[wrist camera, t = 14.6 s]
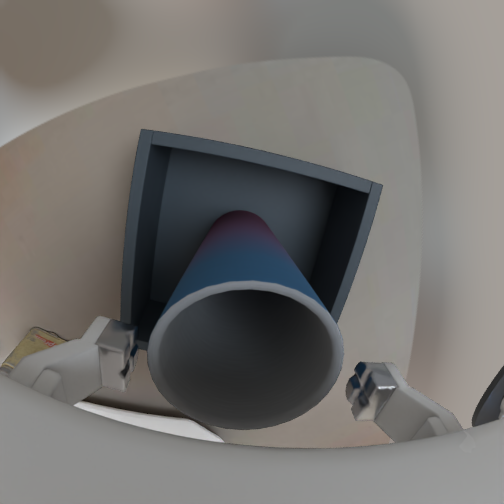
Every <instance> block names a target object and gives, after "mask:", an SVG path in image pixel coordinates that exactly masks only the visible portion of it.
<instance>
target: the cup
mask: <svg viewBox="0 0 504 504" xmlns="http://www.w3.org/2000/svg"><path fill="white" fill-rule="evenodd" d="M343 357H344V348H343V339H342V336H341V333H340V330H339V328H338V325H337V323H336V322H335V320H334V319H333V318H332V316H331V315H330V313H329V312H328V310H327V309H326V307H325V306H324V304H323V303H322V302H321V300H320V299H319V297H318V296H317V294H316V293H315V292H314V290H313V289H312V287H311V286H310V284H309V283H308V282H307V280H306V279H305V277H304V276H303V274H302V273H301V272H300V270H299V269H298V267H297V266H296V264H295V263H294V262H293V260H292V259H291V257H290V256H289V255H288V253H287V252H286V250H285V249H284V248H283V246H282V245H281V243H280V242H279V241H278V239H277V238H276V236H275V235H274V234H273V232H272V231H271V230H270V228H269V227H268V225H267V224H266V223H265V221H264V220H263V219H262V218H260V217H259V216H258V215H256V214H254V213H252V212H249V211H243V210H237V211H231V212H228V213H226V214H224V215H222V216H221V217H219V218H218V219H217V220H216V221H215V222H214V224H213V225H212V227H211V229H210V230H209V232H208V234H207V235H206V237H205V239H204V240H203V242H202V244H201V245H200V247H199V249H198V251H197V252H196V254H195V256H194V257H193V259H192V261H191V263H190V264H189V266H188V268H187V269H186V271H185V273H184V275H183V276H182V278H181V280H180V282H179V283H178V285H177V287H176V289H175V291H174V292H173V294H172V296H171V298H170V299H169V301H168V303H167V305H166V307H165V308H164V310H163V312H162V314H161V316H160V318H159V319H158V321H157V323H156V325H155V327H154V329H153V331H152V333H151V335H150V339H149V343H148V348H147V359H148V367H149V370H150V374H151V377H152V380H153V381H154V383H155V385H156V387H157V388H158V390H159V392H160V393H161V394H162V395H163V396H164V397H165V398H166V400H167V401H168V402H169V403H170V404H172V405H173V406H174V407H175V408H177V409H178V410H179V411H180V412H182V413H184V414H185V415H187V416H189V417H191V418H193V419H195V420H197V421H200V422H202V423H205V424H208V425H211V426H216V427H220V428H225V429H237V430H250V429H261V428H267V427H272V426H276V425H279V424H282V423H285V422H288V421H290V420H293V419H295V418H297V417H299V416H301V415H303V414H304V413H306V412H307V411H309V410H310V409H311V408H313V407H314V406H316V405H317V404H318V403H319V402H320V401H321V400H322V399H323V398H324V397H325V396H326V395H327V394H328V393H329V391H330V390H331V388H332V387H333V385H334V384H335V382H336V380H337V378H338V376H339V373H340V371H341V368H342V363H343Z"/></svg>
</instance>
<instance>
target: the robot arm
mask: <svg viewBox="0 0 504 504" xmlns="http://www.w3.org/2000/svg"><path fill="white" fill-rule="evenodd" d="M138 337H139V327H138V326H135V325H131V324H128V323H124V322H121V321H117V320H114V319H110V318H107V317H103V316H97V317H96V318H95V320H94V321H93V322H92V324H91V325H90V326H89V328H88V329H87V331H86V332H85V333H84V335H83V336H82V337H81V339H77V338H76V339H73V340H71V341H68V342H65V343H62V344H59V345H56V346H53V347H51V348H48V349H45V350H42V351H39V352H36V353H33V354H30V355H27V356H24V357H23V358H22V359H21V360H20V361H19V363H18V364H17V365H16V366H15V367H14V369H13V370H12V371H11V372H10V374H9V375H8V376H6V375H4V374H2V373H0V504H504V398H503V400H502V402H501V405H500V410H501V412H500V414H499V417H498V418H499V420H496V421H493V422H489V423H486V424H483V425H479V426H476V427H472V428H468V429H465V430H463V428H462V426H461V425H460V423H459V422H458V420H457V419H456V417H455V416H454V414H453V413H452V412H450V411H449V410H447V409H445V408H444V407H442V406H441V405H439V404H438V403H436V402H434V401H433V400H431V399H430V398H428V397H427V396H425V395H423V394H422V393H420V392H419V391H417V390H416V389H414V388H412V387H409V386H408V384H407V383H406V381H405V380H404V378H403V376H402V375H401V373H400V372H399V370H398V369H397V367H396V366H395V364H393V363H387V362H381V363H375V362H359V363H358V364H357V365H356V367H355V369H354V371H355V375H354V376H352V377H351V378H350V379H349V381H348V383H347V385H346V397H347V400H348V401H349V402H350V403H351V404H352V408H351V410H352V413H353V415H354V418H355V420H356V421H374V422H375V423H376V424H377V425H378V426H379V427H380V428H381V429H382V430H383V431H384V432H385V433H386V434H387V435H388V436H389V437H390V438H391V439H392V440H393V441H395V443H390V444H382V445H372V446H360V447H343V448H279V447H262V446H249V445H239V444H230V443H222V442H215V441H208V440H201V439H195V438H190V437H184V436H179V435H174V434H169V433H164V432H160V431H155V430H151V429H147V428H143V427H139V426H135V425H132V424H128V423H124V422H121V421H117V420H114V419H111V418H108V417H104V416H101V415H98V414H95V413H92V412H89V411H86V410H84V409H81V408H78V407H75V406H74V405H75V404H77V403H78V402H80V401H81V400H83V399H84V398H86V397H88V396H89V395H91V394H92V393H94V392H95V391H97V390H98V389H100V388H102V386H104V387H107V388H111V389H115V390H118V391H122V392H125V391H126V389H127V386H128V384H129V381H130V373H131V372H133V371H134V369H135V366H136V363H137V359H138V348H139V346H138V345H137V343H136V342H137V340H138Z"/></svg>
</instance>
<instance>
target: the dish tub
mask: <svg viewBox="0 0 504 504" xmlns="http://www.w3.org/2000/svg"><path fill="white" fill-rule="evenodd" d="M382 187H383V185H381V184H378V183H375V182H372V181H369V180H366V179H363V178H360V177H357V176H354V175H351V174H347V173H344V172H341V171H338V170H334V169H331V168H327V167H324V166H320V165H317V164H313V163H309V162H306V161H302V160H298V159H294V158H290V157H287V156H283V155H278V154H274V153H270V152H266V151H262V150H257V149H253V148H248V147H244V146H239V145H234V144H229V143H224V142H219V141H214V140H209V139H203V138H198V137H192V136H186V135H180V134H173V133H167V132H160V131H153V130H145V129H141V132H140V137H139V142H138V147H137V152H136V158H135V164H134V170H133V176H132V182H131V189H130V196H129V204H128V212H127V220H126V230H125V240H124V252H123V266H122V283H121V315H120V321H121V322H124V323H128V324H131V325H135V326H138V327H139V337H138V340H137V342H136V343H137V345H138V346H139V348H138V349H142V350H146V351H147V348H148V343H149V339H150V335H151V333H152V331H153V329H154V327H155V325H156V323H157V321H158V319H159V318H160V316H161V314H162V312H163V310H164V308H165V307H166V305H167V303H168V301H169V299H170V298H171V296H172V294H173V292H174V291H175V289H176V287H177V285H178V283H179V282H180V280H181V278H182V276H183V275H184V273H185V271H186V269H187V268H188V266H189V264H190V263H191V261H192V259H193V257H194V256H195V254H196V252H197V251H198V249H199V247H200V245H201V244H202V242H203V240H204V239H205V237H206V235H207V234H208V232H209V230H210V229H211V227H212V225H213V224H214V222H215V221H216V220H217V219H218V218H219V217H221V216H222V215H224V214H226V213H228V212H231V211H237V210H243V211H249V212H252V213H254V214H256V215H258V216H259V217H260V218H262V219H263V220H264V221H265V223H266V224H267V225H268V227H269V228H270V230H271V231H272V232H273V234H274V235H275V236H276V238H277V239H278V241H279V242H280V243H281V245H282V246H283V248H284V249H285V250H286V252H287V253H288V255H289V256H290V257H291V259H292V260H293V262H294V263H295V264H296V266H297V267H298V269H299V270H300V272H301V273H302V274H303V276H304V277H305V279H306V280H307V282H308V283H309V284H310V286H311V287H312V289H313V290H314V292H315V293H316V294H317V296H318V297H319V299H320V300H321V302H322V303H323V304H324V306H325V307H326V309H327V310H328V312H329V313H330V315H331V316H332V318H333V319H334V320H335V322H336V323H337V322H338V320H339V317H340V315H341V312H342V310H343V307H344V304H345V302H346V299H347V297H348V294H349V291H350V288H351V286H352V283H353V280H354V277H355V274H356V272H357V269H358V266H359V263H360V260H361V257H362V254H363V251H364V248H365V245H366V242H367V239H368V235H369V232H370V229H371V226H372V223H373V219H374V216H375V212H376V209H377V205H378V202H379V198H380V195H381V191H382Z"/></svg>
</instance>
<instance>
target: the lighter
mask: <svg viewBox="0 0 504 504" xmlns="http://www.w3.org/2000/svg"><path fill="white" fill-rule="evenodd" d="M65 342H67V341H65V340H63V339H61V338H59V337H58V336H57V335H56V334H55V333H53V332H49V333H48V332H46V331H44V330H42V329H40V328H37V327H36V328H32V329H31V330H30V332H29V333H28V335H27V336H26V337H25V338H24V339H23V340H22V341H21V342H20V343H19V345H18V346H17V347H16V348H15V349H14V350H13V352H12V353H11V354H10V355H9V356H8V357H7V359H6V360H5V361H4V362H3V363H2V366H1V367H0V373H2V374H4V375H6V376H8V375H9V374H10V372H11V371H12V370H13V369H14V367H15V366H16V365H17V364H18V363H19V361H20V360H21V359H22V358H23V357H24V356H27V355H30V354H33V353H36V352H39V351H42V350H45V349H48V348H51V347H53V346H56V345H59V344H62V343H65Z"/></svg>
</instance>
